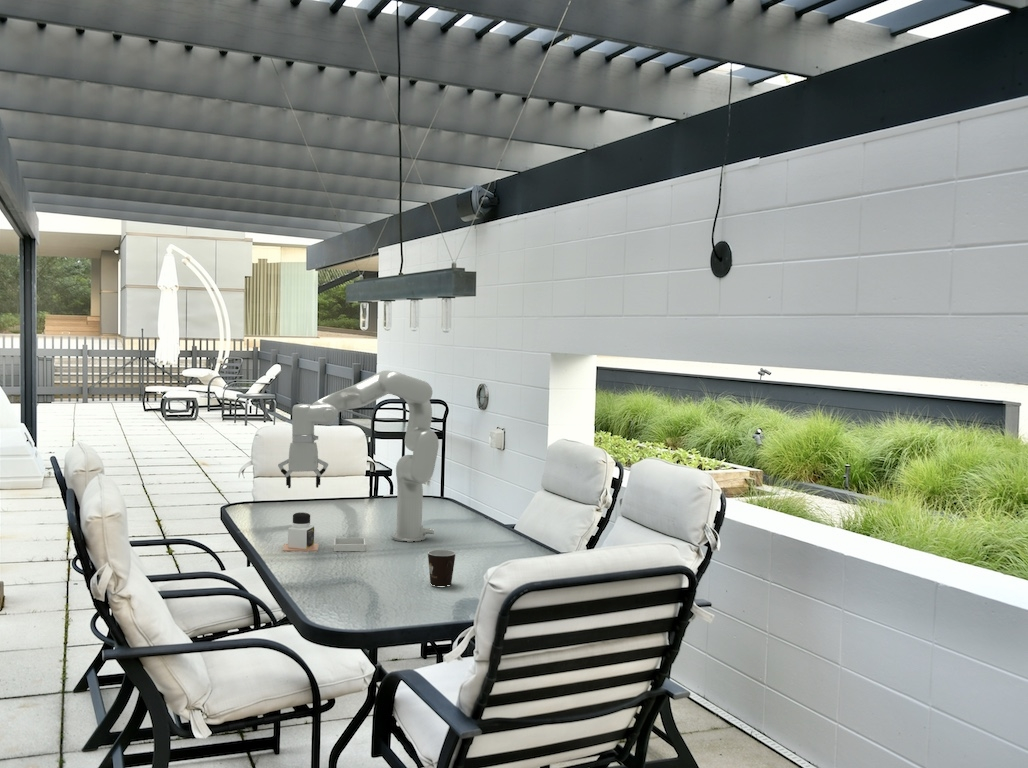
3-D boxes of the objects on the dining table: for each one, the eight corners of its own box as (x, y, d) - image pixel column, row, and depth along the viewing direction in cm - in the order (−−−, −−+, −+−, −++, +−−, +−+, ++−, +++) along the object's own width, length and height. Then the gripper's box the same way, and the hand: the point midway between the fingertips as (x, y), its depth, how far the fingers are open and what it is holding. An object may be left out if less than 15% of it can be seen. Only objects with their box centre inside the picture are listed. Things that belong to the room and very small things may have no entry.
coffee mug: (427, 580, 294) (428, 549, 293) (454, 581, 295) (455, 549, 294) (426, 591, 282) (427, 558, 282) (454, 591, 283) (455, 558, 282)
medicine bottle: (306, 549, 328) (307, 515, 327) (287, 548, 329) (288, 514, 328) (314, 545, 335) (314, 511, 334) (295, 543, 336) (295, 510, 335)
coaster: (318, 545, 338) (318, 543, 338) (317, 551, 328) (317, 549, 328) (284, 545, 336) (284, 543, 336) (282, 551, 326) (282, 550, 326)
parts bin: (364, 544, 341) (365, 537, 341) (365, 551, 330) (365, 544, 330) (334, 544, 339) (334, 537, 339) (333, 551, 329) (333, 544, 328)
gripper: (328, 437, 335) (328, 485, 336) (278, 438, 332) (279, 485, 333) (328, 440, 328) (327, 488, 329) (277, 440, 325) (277, 489, 326)
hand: (303, 487), depth 331 cm, fingers open, 9 cm apart
